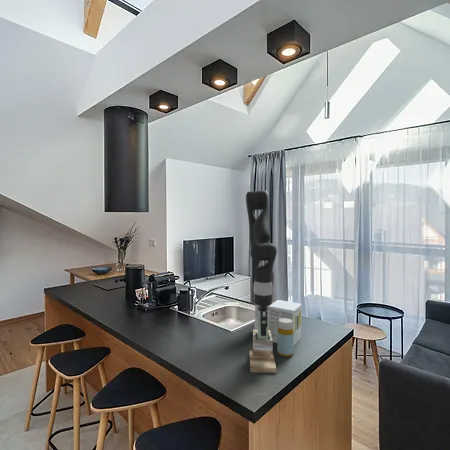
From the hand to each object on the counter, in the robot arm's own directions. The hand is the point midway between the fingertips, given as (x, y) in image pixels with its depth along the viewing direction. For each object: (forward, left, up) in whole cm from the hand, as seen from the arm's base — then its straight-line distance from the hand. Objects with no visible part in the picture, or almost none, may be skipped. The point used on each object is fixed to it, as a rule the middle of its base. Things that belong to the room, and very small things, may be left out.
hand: (262, 331), depth 117 cm
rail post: (0, 0, -5) cm, 5 cm away
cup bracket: (-1, 0, -14) cm, 14 cm away
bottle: (-11, +11, -14) cm, 21 cm away
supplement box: (-26, +13, -14) cm, 32 cm away
